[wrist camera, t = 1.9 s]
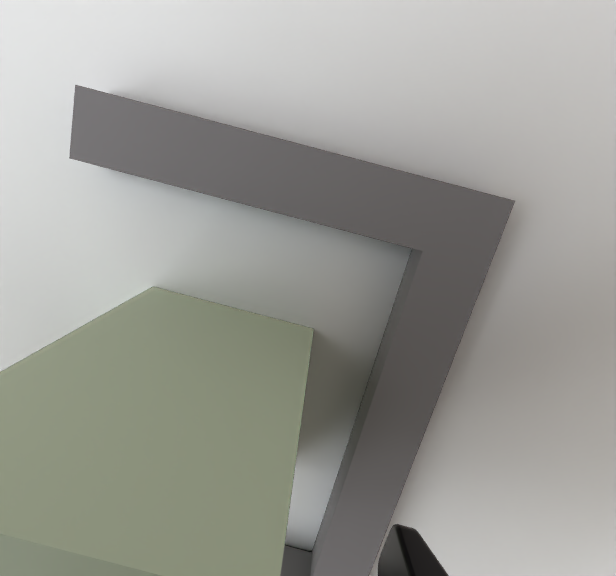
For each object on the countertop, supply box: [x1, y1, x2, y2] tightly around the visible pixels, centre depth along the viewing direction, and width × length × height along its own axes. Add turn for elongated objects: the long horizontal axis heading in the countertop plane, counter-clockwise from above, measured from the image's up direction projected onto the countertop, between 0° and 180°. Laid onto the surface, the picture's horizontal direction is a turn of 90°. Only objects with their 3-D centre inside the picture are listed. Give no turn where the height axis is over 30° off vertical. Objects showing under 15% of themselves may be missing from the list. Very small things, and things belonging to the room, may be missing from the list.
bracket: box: [69, 85, 515, 576], centre depth 10 cm, size 10×13×1 cm
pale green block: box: [0, 287, 314, 576], centre depth 7 cm, size 4×4×7 cm
